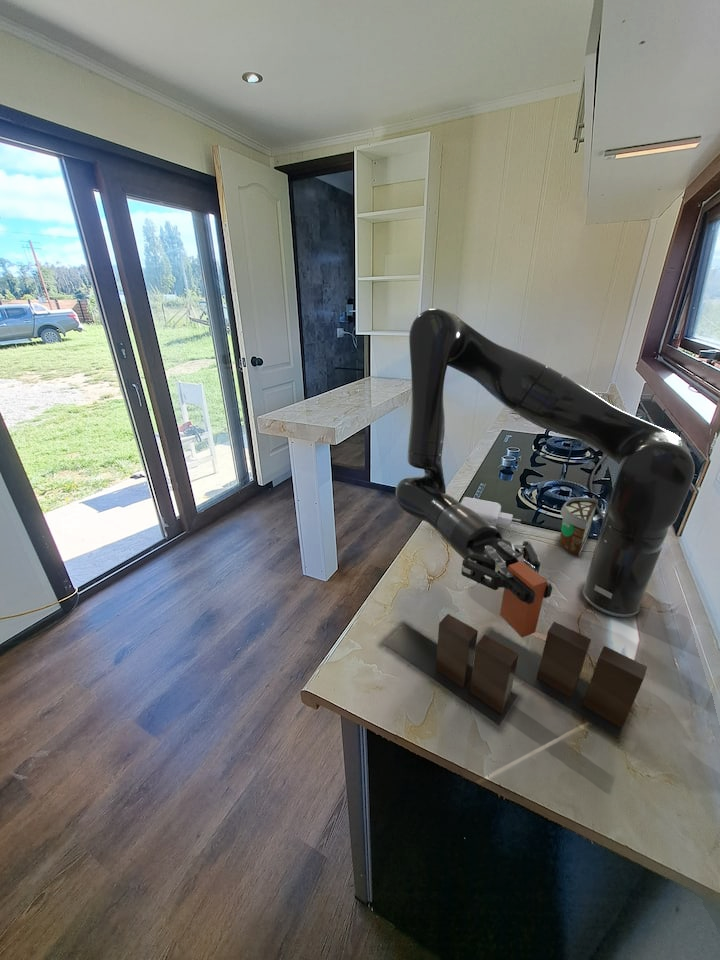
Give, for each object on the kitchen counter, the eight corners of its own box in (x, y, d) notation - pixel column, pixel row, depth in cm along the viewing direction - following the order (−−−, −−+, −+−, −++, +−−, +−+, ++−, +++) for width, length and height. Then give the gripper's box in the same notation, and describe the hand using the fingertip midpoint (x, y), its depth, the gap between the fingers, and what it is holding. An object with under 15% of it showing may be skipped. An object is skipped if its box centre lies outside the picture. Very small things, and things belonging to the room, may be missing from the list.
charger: (516, 540, 92) (454, 526, 99) (521, 521, 100) (463, 510, 106) (519, 523, 90) (456, 510, 96) (523, 505, 98) (464, 494, 104)
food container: (561, 526, 97) (570, 491, 93) (589, 534, 93) (598, 498, 89) (547, 549, 89) (555, 512, 84) (576, 559, 85) (586, 521, 81)
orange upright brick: (512, 610, 62) (521, 560, 58) (535, 632, 58) (547, 581, 54) (499, 614, 61) (508, 565, 57) (522, 637, 57) (533, 586, 53)
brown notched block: (491, 630, 68) (498, 586, 64) (628, 707, 55) (650, 657, 50) (474, 652, 64) (481, 605, 60) (618, 740, 51) (640, 689, 47)
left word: (404, 624, 70) (405, 580, 66) (517, 696, 57) (527, 647, 52) (383, 644, 66) (382, 599, 62) (498, 727, 53) (508, 677, 49)
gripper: (434, 523, 64) (504, 589, 50) (501, 506, 69) (584, 561, 54) (431, 559, 68) (497, 630, 53) (495, 540, 72) (572, 601, 58)
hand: (540, 595), depth 54 cm, fingers closed on orange upright brick, 2 cm apart
